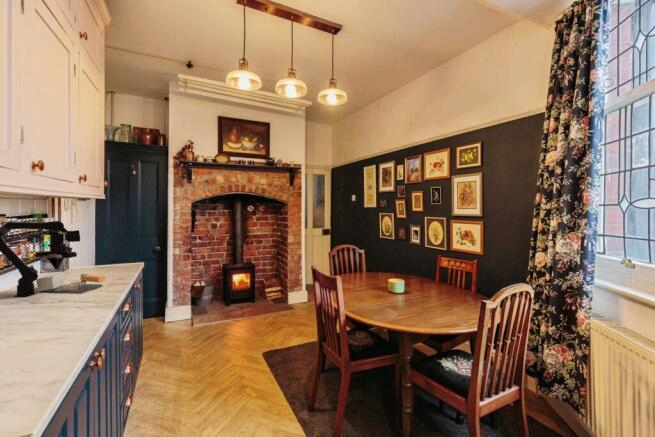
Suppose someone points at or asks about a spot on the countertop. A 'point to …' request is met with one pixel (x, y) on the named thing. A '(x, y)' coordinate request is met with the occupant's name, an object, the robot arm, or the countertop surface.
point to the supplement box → (50, 282)
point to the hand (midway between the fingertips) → (56, 269)
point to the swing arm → (92, 278)
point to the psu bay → (80, 290)
